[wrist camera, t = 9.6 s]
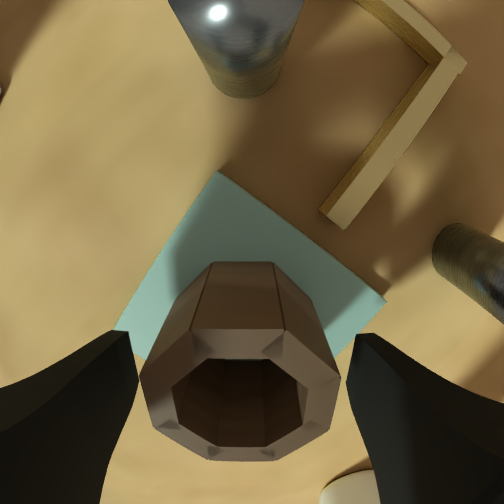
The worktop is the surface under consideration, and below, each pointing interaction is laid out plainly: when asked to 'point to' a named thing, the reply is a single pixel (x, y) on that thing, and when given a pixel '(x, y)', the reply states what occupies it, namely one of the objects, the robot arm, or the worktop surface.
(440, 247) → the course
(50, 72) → the worktop surface
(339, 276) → the pad
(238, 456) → the octagonal hollow tube
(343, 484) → the drinking glass
